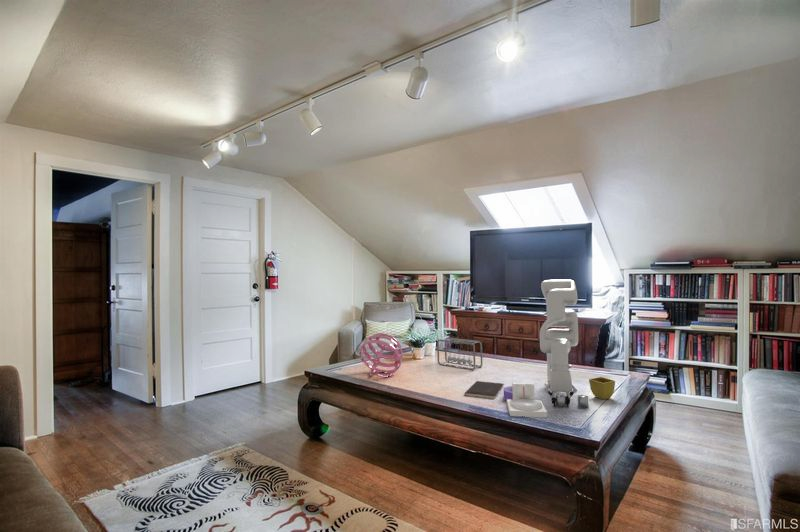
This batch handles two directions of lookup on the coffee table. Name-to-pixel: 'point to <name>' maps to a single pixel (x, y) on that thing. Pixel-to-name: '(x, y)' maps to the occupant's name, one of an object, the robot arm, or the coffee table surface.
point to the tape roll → (508, 393)
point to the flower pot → (602, 387)
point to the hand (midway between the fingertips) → (560, 405)
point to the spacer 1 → (560, 400)
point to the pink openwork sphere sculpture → (380, 354)
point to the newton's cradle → (459, 359)
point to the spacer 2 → (583, 401)
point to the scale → (525, 402)
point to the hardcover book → (484, 389)
